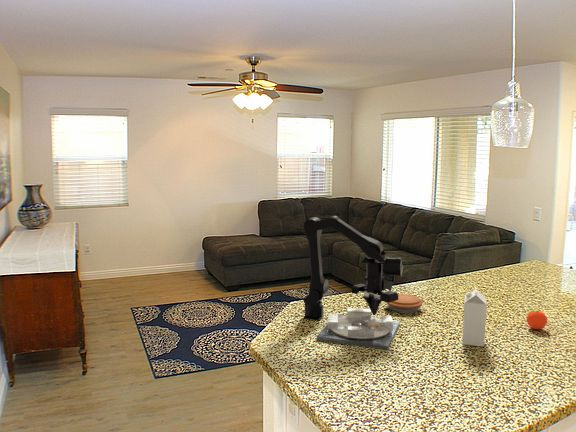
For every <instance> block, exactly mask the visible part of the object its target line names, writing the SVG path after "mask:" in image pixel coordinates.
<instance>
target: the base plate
mask: <svg viewBox="0 0 576 432" xmlns="http://www.w3.org/2000/svg"><path fill="white" fill-rule="evenodd" d="M337 314H338V318H339V317H343V316H347V314H339V313H337ZM392 322H393V331H390V333H389V334H388V335H386V336H384V337H381V338H377V339H367V340H360V339H351V338H345V337H342V336H339V335H337V334H335V333H333V332H332V331H331V330H330V329H328V323H326V324H325V326H324V327H323V328H322V329H321V330H320V332H319V333H318V334H317V335H316V341H320V342H328V343H334V344H341V345H347V344H348V345H347V346H349V345H350V346H354V345H355V347H361V346H362V348H368V347H369V348H370V349H375V350H376V349H377V350H384V351H388V350H389V349H390V346H391V345H390V344H392V343H393V340H394V339H395V337H396V334H397V332H398V330H399V328H400V325H401V322H400V321H399V320H398V321H397V320H392ZM391 342H392V343H391Z"/></svg>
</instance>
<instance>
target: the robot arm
mask: <svg viewBox="0 0 576 432" xmlns="http://www.w3.org/2000/svg"><path fill="white" fill-rule="evenodd" d="M302 226H303V232H304V236H305V238H306V239H307V242H308V249H309V250H308V251H309V252H308V253H309V262H310V273H311V274H310V275H311V278H310V282H309V289H308V290H309V291H308V294H307V295H306V296H305V297H304V298H303V299H302V301H303V303H304V316H303V317H302V318H303V319H305V320H306V319H308V320H313V321H319V320H321V318H322V317H324V305H323V301H322V300H323V298H324V297H326V295H327V294H328V292H329V290H330V287H329V279H325V277H324V275H323V263H322V262H323V261H322V250H321V237H322V233H323V230H324V229H331V228H332V229H334V230H336V231H337V232H338V233H340V235H343V236H344V237H345V238H347V239H348V240H350V241H351V242H353V243H354V244H355V245H357V247H359V249H360V250H361V251H362V252H363V253H364V255H365V256H364V257H363V259H362V260H361V263H362V264H366V276H365V277H364V281H366V284H364V283H359V284H354V285H352V287H351V294H355V295H358V294H359V293H360V292H361V293H363V296H362V299H363V300H364V301H365V303H366V304H367V305H368V309H370V310H371V315H373V316H376V315H377V313H378V310H379V307H380V305H381V302H383V303H384V302H385V303H386V302H387V303H390V302H393V301H396V300H398V294H399V293H398V292H397V291H393V290H392V289H393V284H394V282H391V281H388V280H386V279H385V276H390V277H402V276H403V272H404V265H403V260H402V257H389V255H388V253H386V250H385V249H384V246H383V244H382V242H381V241H379V240H378V239H376V238H373V237H370V236H367V235H365V234H364V233H363V234H362V233H361V232H360V231H358V230H357V229H356V228H354V227H352V226H351V225H349V224H348V223H346V222H345V221H343V220H342V219H341V218H340V217H339V216H337V215H332V216H328V217H321V218H319V217H316V216H312V217H310V218H309V219H307V220H305V221H304V222H303V225H302ZM383 273H384V275H385V276H383ZM387 303H386V304H387Z"/></svg>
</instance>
